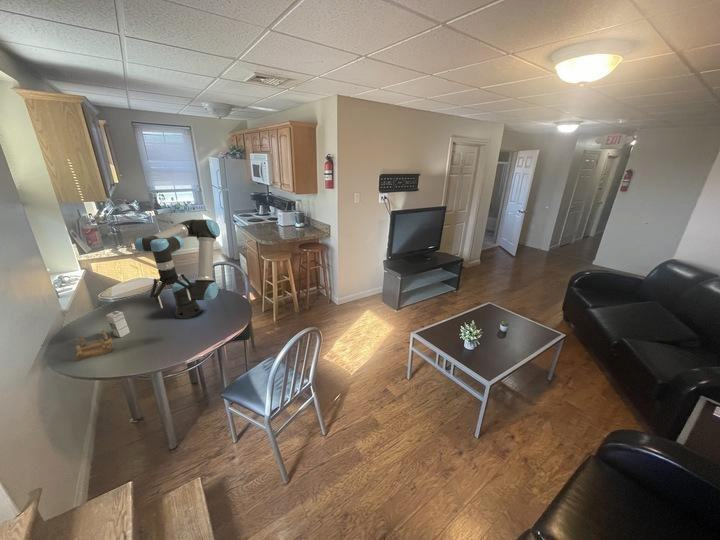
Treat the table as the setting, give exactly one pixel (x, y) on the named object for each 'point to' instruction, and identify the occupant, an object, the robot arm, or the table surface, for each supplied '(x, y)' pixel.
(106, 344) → the peg rack
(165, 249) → the robot arm
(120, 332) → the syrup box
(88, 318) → the table surface
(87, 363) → the table surface
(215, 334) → the table surface
